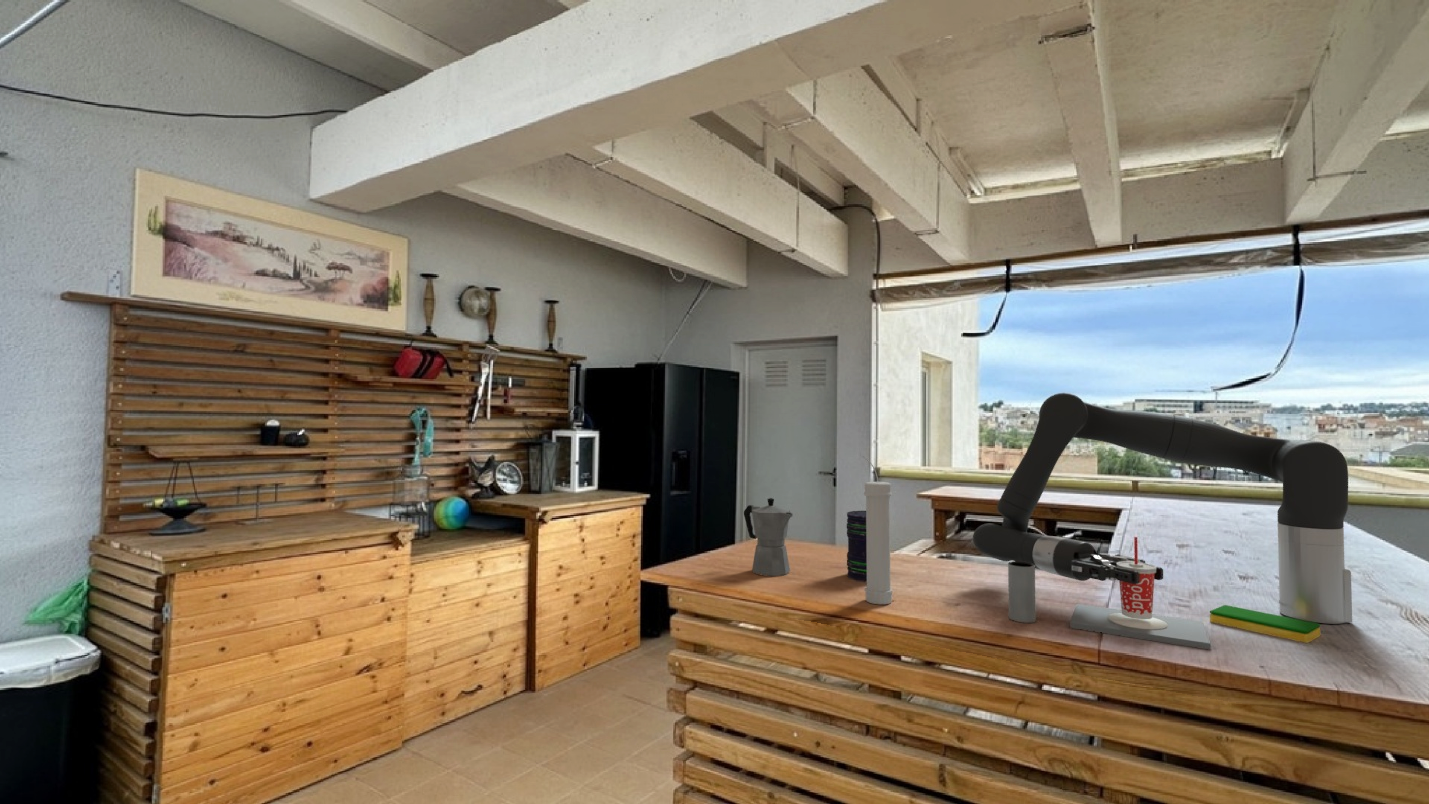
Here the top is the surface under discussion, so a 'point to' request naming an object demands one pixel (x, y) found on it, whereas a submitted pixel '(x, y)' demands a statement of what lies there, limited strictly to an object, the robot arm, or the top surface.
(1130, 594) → the beverage cup
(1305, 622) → the dish sponge
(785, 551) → the coffeepot
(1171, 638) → the slate board
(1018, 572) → the gray cylinder
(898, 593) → the top surface
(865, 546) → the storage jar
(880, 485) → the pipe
